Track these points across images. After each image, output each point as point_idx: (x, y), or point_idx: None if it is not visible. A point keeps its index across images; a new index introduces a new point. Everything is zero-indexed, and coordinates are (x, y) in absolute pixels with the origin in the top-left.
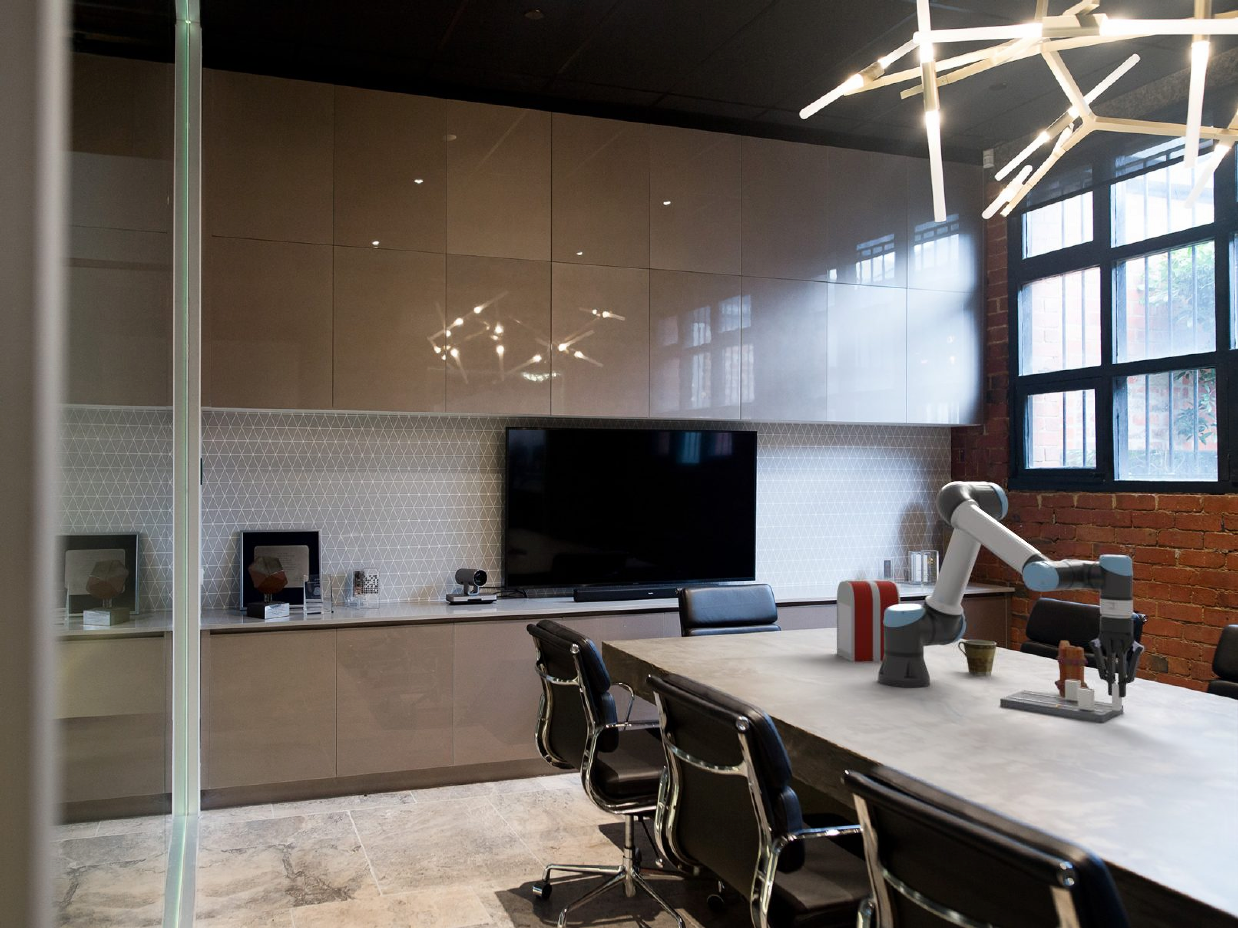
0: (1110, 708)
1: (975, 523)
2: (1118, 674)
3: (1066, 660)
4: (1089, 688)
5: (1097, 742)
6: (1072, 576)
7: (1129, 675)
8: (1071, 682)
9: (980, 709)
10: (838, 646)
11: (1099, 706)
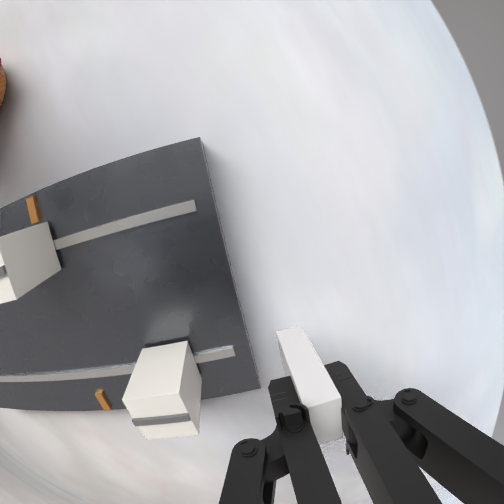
0: (207, 259)
1: None
2: (362, 475)
3: None
4: (158, 398)
5: (340, 482)
6: None
7: (420, 452)
8: (3, 301)
9: (32, 447)
10: None
11: (157, 263)
